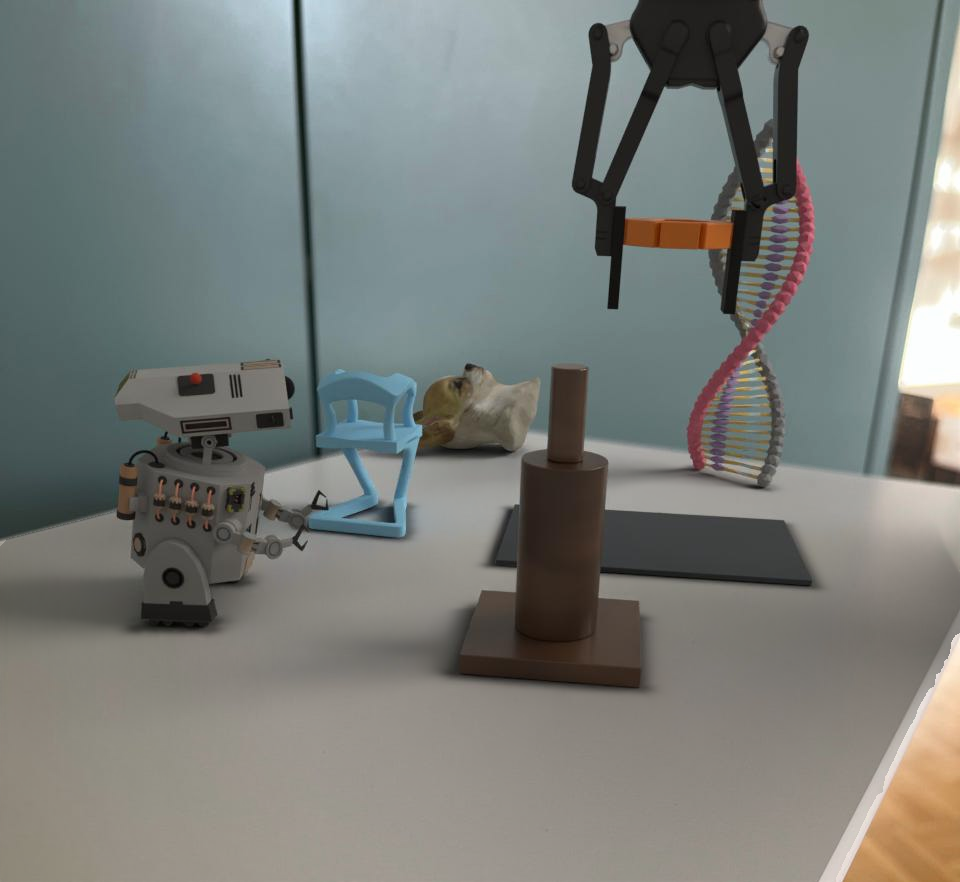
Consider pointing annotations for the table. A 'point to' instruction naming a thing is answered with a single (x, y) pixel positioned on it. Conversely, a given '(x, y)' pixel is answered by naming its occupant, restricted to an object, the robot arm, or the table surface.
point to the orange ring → (678, 233)
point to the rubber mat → (689, 547)
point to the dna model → (753, 329)
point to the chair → (368, 445)
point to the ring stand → (558, 567)
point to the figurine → (201, 481)
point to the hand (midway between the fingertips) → (669, 309)
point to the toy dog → (477, 411)
